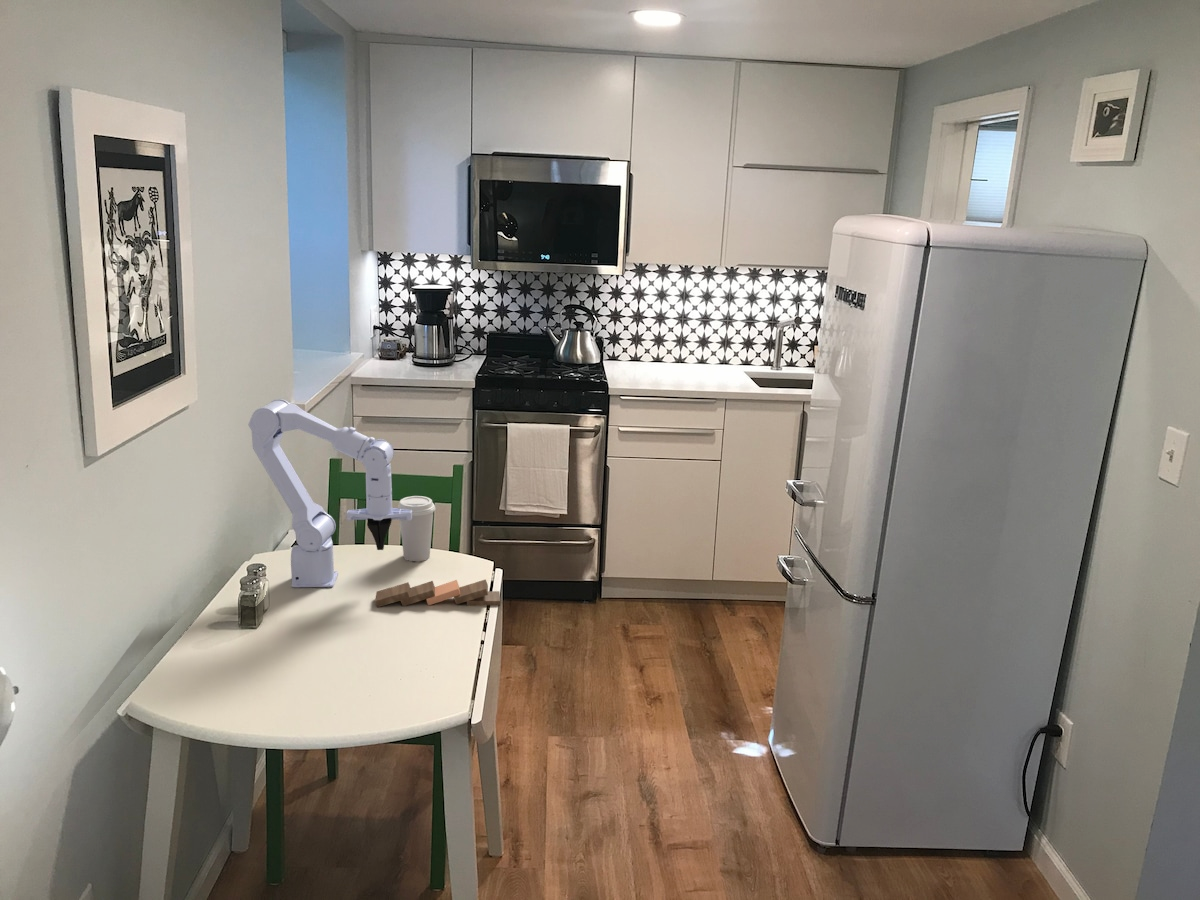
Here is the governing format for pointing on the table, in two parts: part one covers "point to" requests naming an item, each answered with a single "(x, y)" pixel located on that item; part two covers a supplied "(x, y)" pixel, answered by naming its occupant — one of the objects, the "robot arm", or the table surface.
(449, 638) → the table surface
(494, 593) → the domino
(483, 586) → the domino
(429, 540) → the coffee cup
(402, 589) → the domino
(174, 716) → the table surface
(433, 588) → the domino
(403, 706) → the table surface
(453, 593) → the domino
